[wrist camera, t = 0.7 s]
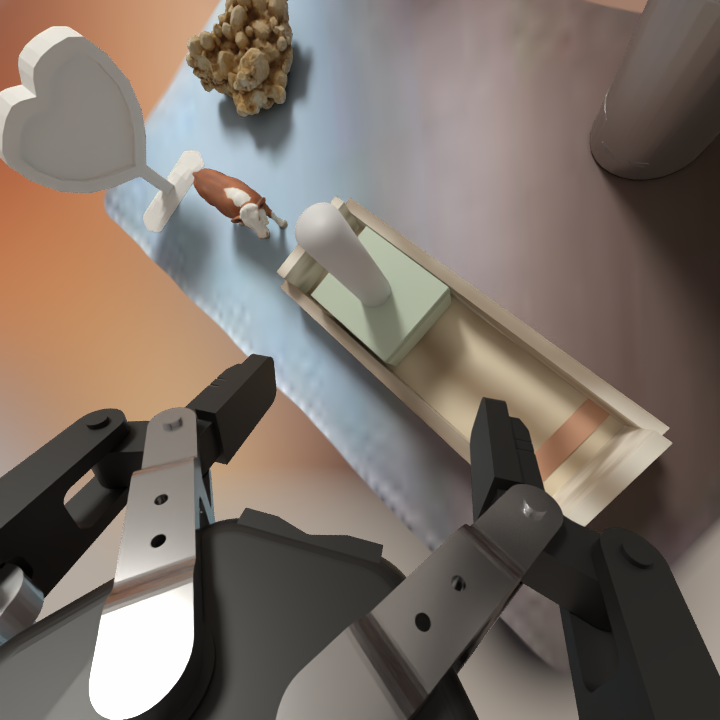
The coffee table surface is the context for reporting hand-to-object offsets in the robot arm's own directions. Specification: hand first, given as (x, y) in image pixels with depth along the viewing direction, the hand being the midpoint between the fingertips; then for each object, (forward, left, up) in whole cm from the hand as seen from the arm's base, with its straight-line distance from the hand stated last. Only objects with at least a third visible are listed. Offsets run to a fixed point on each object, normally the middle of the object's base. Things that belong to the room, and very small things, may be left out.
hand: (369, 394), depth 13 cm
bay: (-4, -3, -22) cm, 23 cm away
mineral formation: (-18, -46, -23) cm, 54 cm away
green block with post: (-4, -10, -21) cm, 24 cm away
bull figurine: (-2, -31, -23) cm, 38 cm away
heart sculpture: (+3, -48, -23) cm, 53 cm away
